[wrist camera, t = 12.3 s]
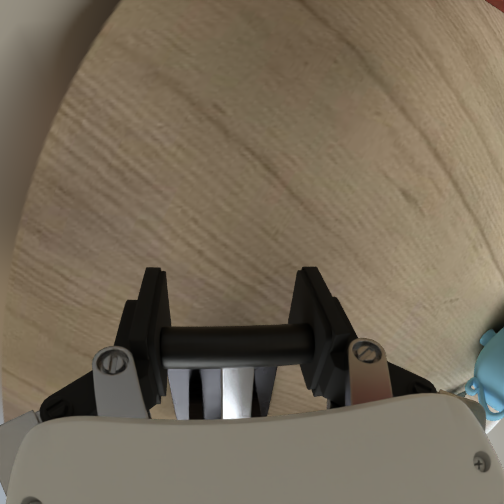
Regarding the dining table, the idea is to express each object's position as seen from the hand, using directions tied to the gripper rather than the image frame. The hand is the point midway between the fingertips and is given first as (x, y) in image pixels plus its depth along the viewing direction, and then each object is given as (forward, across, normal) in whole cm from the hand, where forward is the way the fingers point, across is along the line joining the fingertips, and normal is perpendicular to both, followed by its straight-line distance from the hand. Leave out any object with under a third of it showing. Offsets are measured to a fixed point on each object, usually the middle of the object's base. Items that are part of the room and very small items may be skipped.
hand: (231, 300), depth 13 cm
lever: (-3, 0, +7) cm, 8 cm away
